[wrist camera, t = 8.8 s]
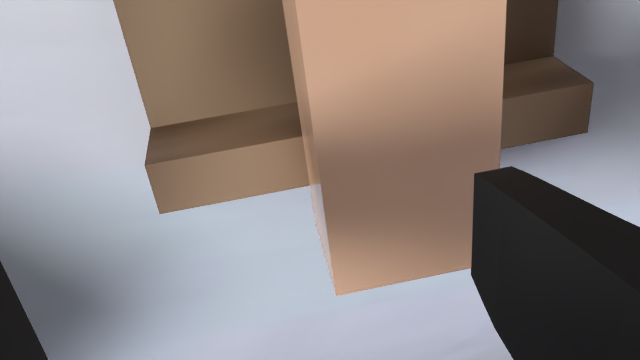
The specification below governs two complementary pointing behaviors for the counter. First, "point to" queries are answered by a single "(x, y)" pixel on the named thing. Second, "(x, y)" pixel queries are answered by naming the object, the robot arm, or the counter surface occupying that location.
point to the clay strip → (396, 129)
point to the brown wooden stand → (291, 94)
